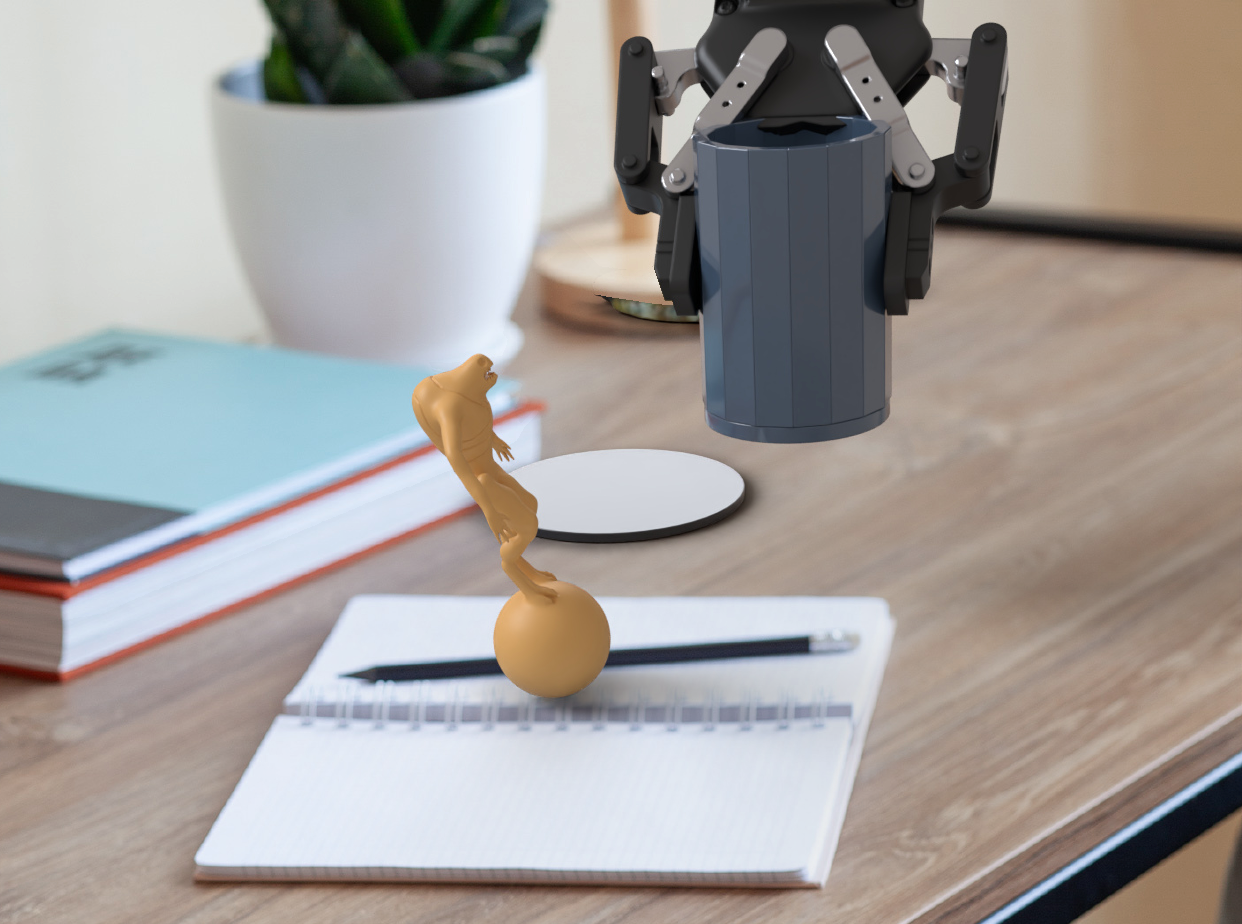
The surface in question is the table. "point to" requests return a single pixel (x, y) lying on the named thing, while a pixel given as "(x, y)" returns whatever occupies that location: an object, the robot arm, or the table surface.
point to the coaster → (629, 494)
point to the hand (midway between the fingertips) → (788, 303)
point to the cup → (793, 280)
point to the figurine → (513, 542)
